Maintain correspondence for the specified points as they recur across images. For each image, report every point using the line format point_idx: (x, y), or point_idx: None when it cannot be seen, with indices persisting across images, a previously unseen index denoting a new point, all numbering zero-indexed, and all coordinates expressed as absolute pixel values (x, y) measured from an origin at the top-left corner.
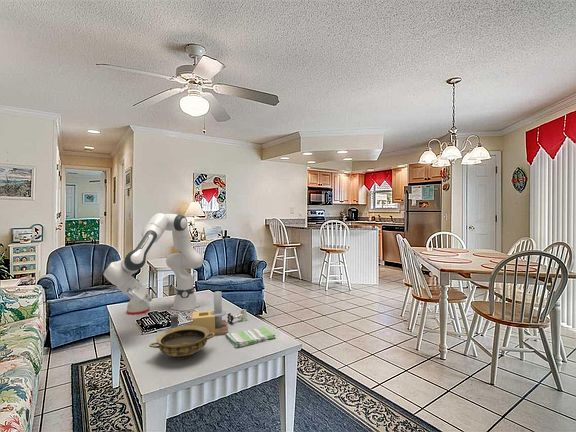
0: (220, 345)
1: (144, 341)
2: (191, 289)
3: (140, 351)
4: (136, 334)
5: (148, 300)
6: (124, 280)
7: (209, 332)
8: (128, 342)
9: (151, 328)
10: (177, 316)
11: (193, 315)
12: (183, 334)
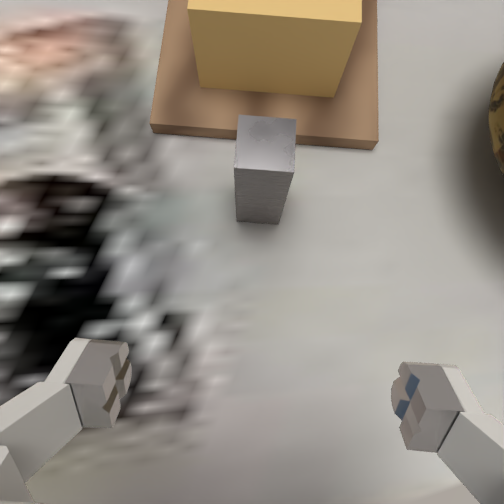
0: (495, 3)
1: (324, 385)
2: None
3: (477, 396)
4: (170, 458)
5: (116, 407)
6: None
7: None
8: (306, 499)
9: None
10: (285, 119)
11: (286, 12)
12: (497, 123)
